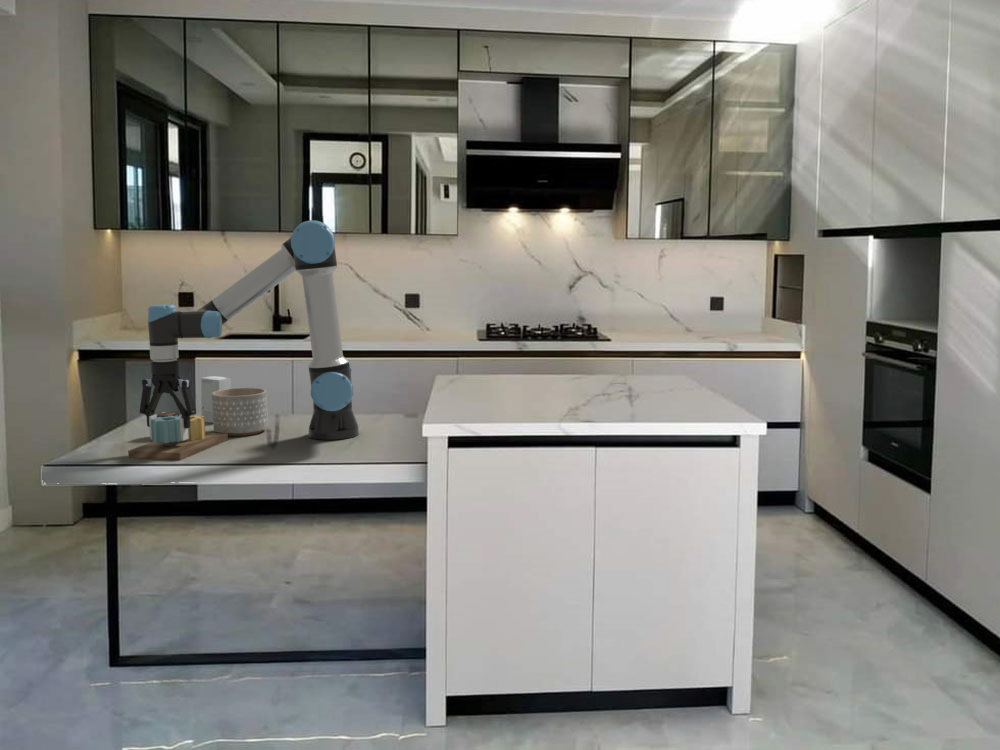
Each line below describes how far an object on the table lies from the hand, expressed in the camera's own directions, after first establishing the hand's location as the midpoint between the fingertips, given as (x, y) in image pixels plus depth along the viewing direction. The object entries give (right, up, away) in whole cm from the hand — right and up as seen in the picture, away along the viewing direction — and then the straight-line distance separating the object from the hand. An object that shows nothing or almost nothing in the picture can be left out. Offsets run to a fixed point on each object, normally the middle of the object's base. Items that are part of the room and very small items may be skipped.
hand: (169, 438), depth 264 cm
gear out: (+2, 0, +10) cm, 10 cm away
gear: (0, 0, 0) cm, 0 cm away
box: (-8, -1, +22) cm, 23 cm away
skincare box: (0, +2, +45) cm, 45 cm away
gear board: (+1, -3, +5) cm, 6 cm away
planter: (+12, 0, +28) cm, 31 cm away
